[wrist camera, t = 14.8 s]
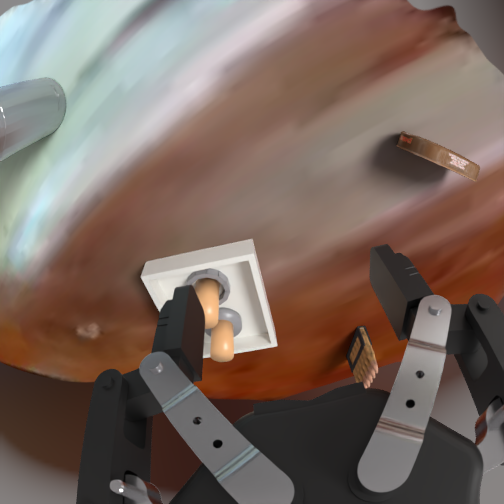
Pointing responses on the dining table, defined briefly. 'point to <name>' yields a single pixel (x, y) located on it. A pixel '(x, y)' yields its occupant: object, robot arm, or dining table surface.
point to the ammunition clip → (362, 357)
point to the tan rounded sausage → (209, 300)
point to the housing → (220, 295)
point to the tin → (438, 155)
